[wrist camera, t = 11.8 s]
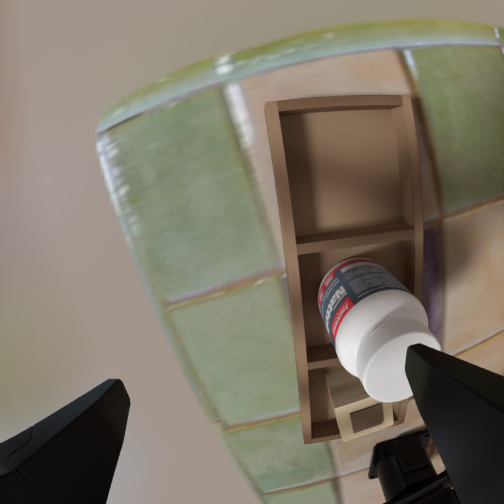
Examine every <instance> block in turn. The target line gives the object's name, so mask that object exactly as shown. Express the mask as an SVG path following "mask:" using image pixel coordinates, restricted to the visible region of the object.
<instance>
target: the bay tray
mask: <svg viewBox="0 0 504 504" xmlns="http://www.w3.org/2000/svg"><path fill="white" fill-rule="evenodd" d="M265 117H266V123H267V130H268V136H269V143H270V150H271V157H272V164H273V171H274V178H275V185H276V193H277V200H278V207H279V215H280V223H281V231H282V239H283V247H284V255H285V263H286V272H287V280H288V289H289V298H290V307H291V317H292V326H293V336H294V346H295V356H296V367H297V377H298V389H299V400H300V412H301V424H302V431H303V438H304V444H311V443H317V442H323V441H329V440H334V439H340V438H342V437H341V434H340V430H339V426H338V423H337V419H336V416H335V412H334V409H333V405H332V401H331V397H330V393H329V389H328V386H327V382H326V378H325V375H324V374H327V373H330V372H333V371H336V370H339V369H342V368H344V367H343V366H342V364H341V362H340V360H339V358H338V356H337V354H336V351H335V348H334V346H333V343H332V341H331V338H330V336H329V333H328V331H327V328H326V326H325V323H324V321H323V318H322V316H321V313H320V310H319V306H318V291H319V287H320V284H321V282H322V280H323V278H324V277H325V275H326V274H327V273H328V272H329V271H330V269H332V268H333V267H334V266H335V265H337V264H338V263H340V262H342V261H344V260H347V259H350V258H357V257H361V258H368V259H371V260H374V261H376V262H377V263H379V264H380V265H381V266H383V267H384V268H385V269H386V270H387V271H388V272H389V273H391V274H392V275H393V276H394V277H395V278H396V279H397V280H398V281H399V282H400V283H401V284H402V285H404V286H405V287H406V288H407V289H408V290H409V291H410V292H411V293H412V294H413V295H414V296H415V297H416V298H417V299H418V300H419V302H420V303H421V299H422V281H423V206H422V188H421V174H420V163H419V153H418V144H417V136H416V129H415V122H414V115H413V109H412V103H411V98H410V96H402V95H356V96H331V97H315V98H302V99H291V100H281V101H272V102H266V103H265ZM408 400H409V398H407V399H404V400H401V401H397V402H392V408H393V424H394V425H392V426H395V425H399V424H402V423H404V419H405V415H406V410H407V405H408ZM389 427H391V426H389ZM386 428H388V427H386Z"/></svg>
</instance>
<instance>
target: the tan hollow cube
mask: <svg viewBox="0 0 504 504" xmlns="http://www.w3.org/2000/svg"><path fill="white" fill-rule="evenodd" d="M324 375H325V378H326V382H327V386H328V389H329V393H330V397H331V401H332V405H333V409H334V412H335V416H336V419H337V423H338V426H339V430H340V434H341V437H342V441H343V442H345V441H348V440H351V439H355V438H358V437H361V436H364V435H367V434H370V433H372V432H375V431H378V430H381V429H384V428H386V427H389V426H392V425H394V424H393V408H392V402H381V401H378V400H375V399H374V398H372V397H371V396H369V394H368V393H367V392H366V390H365V389H364V386H363V384H362V382H361V380H360V379H359V378H358V377H356V376H354V375H352V374H351V373H349V372H348V371H347V370H346V369H345V368H342V369H339V370H336V371H333V372H330V373H327V374H324Z"/></svg>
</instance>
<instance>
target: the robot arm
mask: <svg viewBox="0 0 504 504" xmlns="http://www.w3.org/2000/svg"><path fill="white" fill-rule="evenodd" d="M405 374H406V377H407V380H408V382H409V385H410V388H411V390H412V393H413V396H414V399H415V402H416V405H417V407H418V410H419V412H420V414H421V417H422V419H423V421H424V423H425V425H426V427H427V429H428V430H425V431H422V432H419V433H416V434H413V435H410V436H407V437H403V438H400V439H396V440H393V441H389V442H385V443H382V444H378V445H376V446H375V447H374V448H373V453H372V458H371V463H370V468H369V473H368V477H369V479H374V478H379V481H380V484H381V487H382V490H383V493H384V496H385V499H386V502H385V503H383V504H504V376H502V375H499V374H497V373H494V372H491V371H489V370H486V369H484V368H481V367H479V366H476V365H474V364H471V363H469V362H466V361H464V360H461V359H459V358H456V357H454V356H451V355H449V354H446V353H444V352H441V351H439V350H436V349H434V348H431V347H429V346H426V345H424V344H421V343H417V344H413V345H409V346H408V348H407V352H406V360H405ZM129 409H130V398H129V395H128V393H127V391H126V389H125V387H124V384H123V382H122V381H121V380H120V379H108V380H106V381H105V382H103V383H101V384H100V385H98V386H97V387H95V388H93V389H92V390H91V391H89V392H87V393H85V394H84V395H82V396H81V397H79V398H77V399H76V400H74V401H73V402H71V403H69V404H68V405H66V406H64V407H63V408H61V409H59V410H58V411H56V412H55V413H53V414H51V415H50V416H48V417H46V418H45V419H43V420H41V421H40V422H38V423H36V424H35V425H34V426H31V427H30V428H28V429H26V430H24V431H23V432H21V433H19V434H17V435H16V436H14V437H12V438H10V439H8V440H6V441H4V442H2V443H0V504H106V502H107V498H108V494H109V491H110V487H111V483H112V479H113V476H114V472H115V469H116V465H117V461H118V458H119V455H120V452H121V448H122V444H123V441H124V436H125V430H126V424H127V419H128V414H129ZM430 436H431V437H432V439H433V441H434V444H435V446H436V448H437V450H438V452H439V454H440V457H441V459H442V461H443V463H444V465H445V468H446V469H445V471H443V472H442V473H440V474H438V475H437V473H436V471H435V469H434V467H433V465H432V462H431V460H430V458H429V456H428V454H427V452H426V447H427V444H428V442H429V439H430ZM451 488H453V489H451Z"/></svg>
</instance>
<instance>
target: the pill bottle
mask: <svg viewBox="0 0 504 504" xmlns="http://www.w3.org/2000/svg"><path fill="white" fill-rule="evenodd" d="M318 306H319V310H320V313H321V316H322V318H323V321H324V323H325V326H326V328H327V331H328V333H329V336H330V338H331V341H332V343H333V346H334V348H335V351H336V354H337V356H338V358H339V360H340V362H341V364H342V366H343V367H344V368H345V369H346V370H347V371H348V372H349V373H351V374H352V375H354V376H356V377H358V378H359V379H360V380H361V382H362V384H363V386H364V389H365V390H366V392H367V393H368V394H369V396H371V397H372V398H374V399H375V400H378V401H381V402H397V401H401V400H404V399H407V398H409V397H411V396H413V393H412V390H411V388H410V385H409V382H408V380H407V377H406V374H405V360H406V352H407V348H408V346H409V345H413V344H417V343H421V344H424V345H426V346H429V347H431V348H434V349H436V350H439V351H441V347H440V344H439V342H438V340H437V339H436V337H435V336H434V335H433V334H432V333H431V332H430V330H429V329H428V318H427V314H426V311H425V309H424V307H423V306H422V304H421V303H420V302H419V300H418V299H417V298H416V297H415V296H414V295H413V294H412V293H411V292H410V291H409V290H408V289H407V288H406V287H405V286H404V285H402V284H401V283H400V282H399V281H398V280H397V279H396V278H395V277H394V276H393V275H392V274H391V273H389V272H388V271H387V270H386V269H385V268H384V267H383V266H381V265H380V264H379V263H377V262H376V261H374V260H371V259H368V258H361V257H357V258H350V259H347V260H344V261H342V262H340V263H338V264H337V265H335V266H334V267H333V268H332V269H330V271H329V272H328V273H327V274H326V275H325V277H324V278H323V280H322V282H321V284H320V287H319V291H318Z"/></svg>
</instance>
